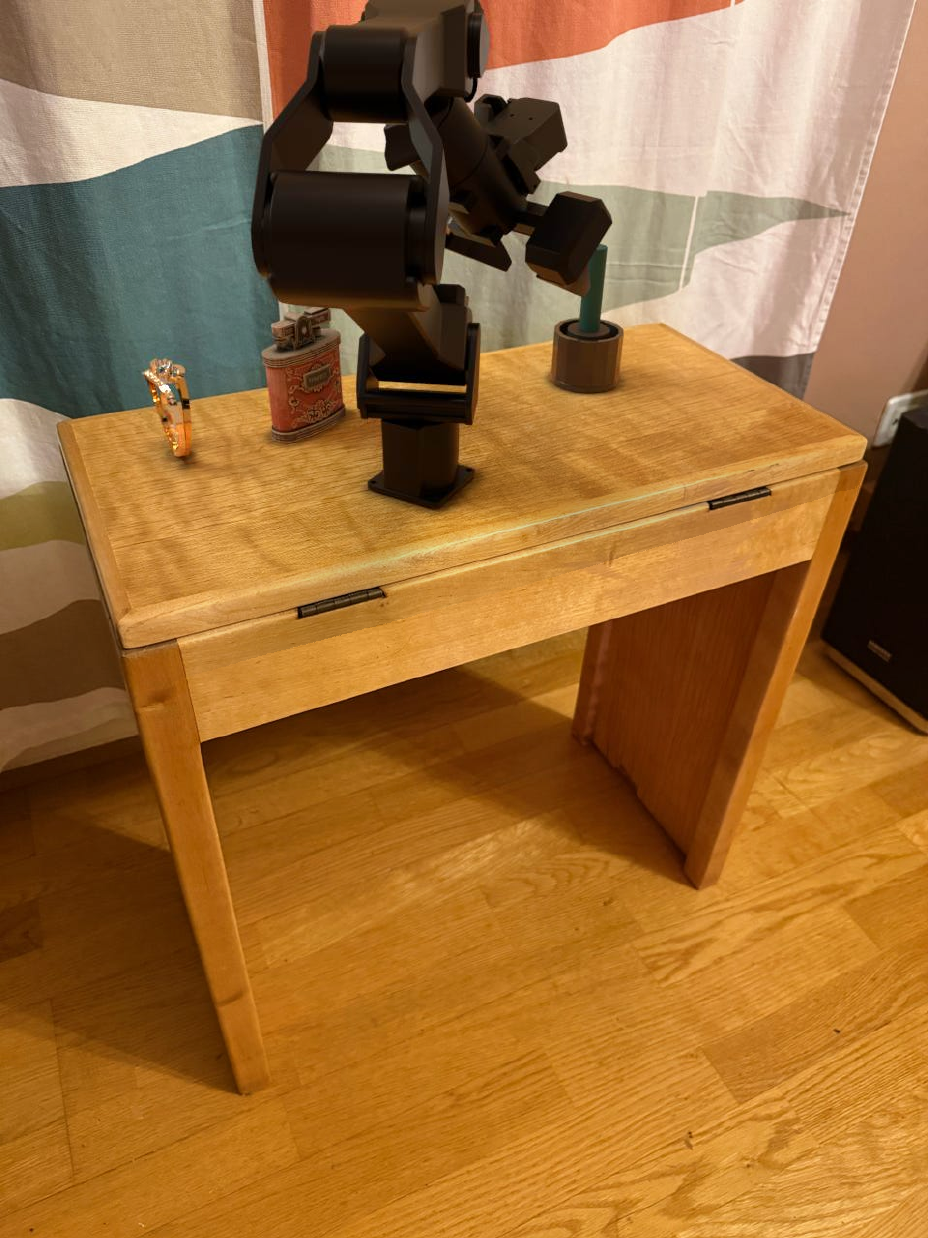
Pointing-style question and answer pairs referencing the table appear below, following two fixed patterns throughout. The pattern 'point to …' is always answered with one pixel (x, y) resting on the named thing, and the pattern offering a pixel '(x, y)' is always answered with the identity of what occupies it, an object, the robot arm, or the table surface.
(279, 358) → the lighter
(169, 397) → the ring
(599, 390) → the tumbler
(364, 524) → the table surface
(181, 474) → the table surface
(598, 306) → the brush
